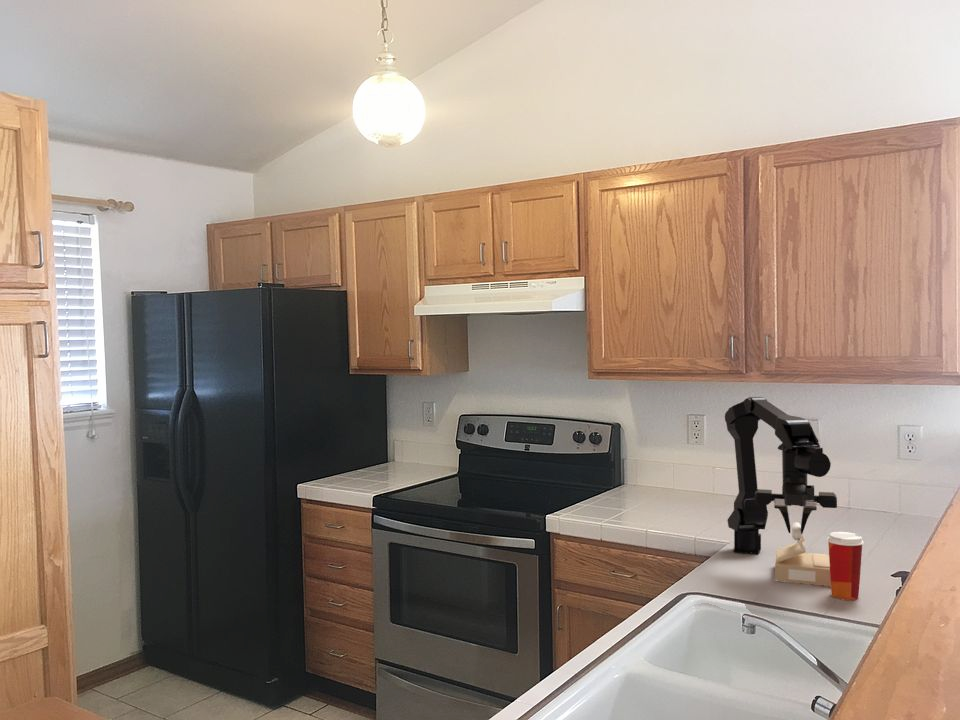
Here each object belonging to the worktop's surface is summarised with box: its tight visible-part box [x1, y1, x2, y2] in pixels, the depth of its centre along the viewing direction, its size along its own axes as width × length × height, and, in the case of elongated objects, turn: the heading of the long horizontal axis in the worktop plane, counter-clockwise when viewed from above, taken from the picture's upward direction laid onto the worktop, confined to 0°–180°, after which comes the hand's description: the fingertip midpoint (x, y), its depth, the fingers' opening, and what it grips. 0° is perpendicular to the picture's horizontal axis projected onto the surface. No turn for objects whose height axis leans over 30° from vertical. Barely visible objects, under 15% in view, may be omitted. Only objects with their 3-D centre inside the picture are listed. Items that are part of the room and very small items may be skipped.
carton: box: [774, 550, 831, 587], centre depth 200 cm, size 16×13×4 cm
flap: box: [776, 521, 806, 563], centre depth 202 cm, size 8×11×5 cm
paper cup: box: [826, 531, 865, 601], centre depth 186 cm, size 8×8×14 cm
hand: (795, 533), depth 201 cm, fingers open, 2 cm apart
